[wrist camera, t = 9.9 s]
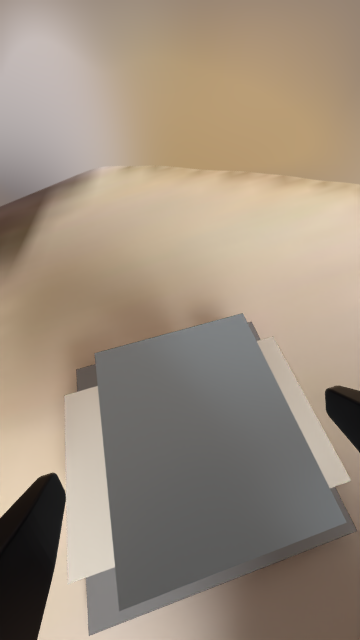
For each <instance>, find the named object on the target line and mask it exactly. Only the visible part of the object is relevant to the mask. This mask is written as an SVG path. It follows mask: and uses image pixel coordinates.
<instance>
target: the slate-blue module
mask: <svg viewBox="0 0 360 640" xmlns="http://www.w3.org/2000/svg"><path fill="white" fill-rule="evenodd" d="M95 363H96V373H97V384H98V394H99V404H100V415H101V425H102V436H103V446H104V457H105V467H106V478H107V488H108V499H109V509H110V520H111V530H112V541H113V551H114V561H115V572H116V582H117V593H118V603H119V611H121V610H124V609H127V608H129V607H132V606H134V605H137V604H139V603H142V602H145V601H147V600H150V599H152V598H155V597H157V596H160V595H162V594H165V593H168V592H170V591H173V590H175V589H178V588H180V587H183V586H185V585H188V584H191V583H193V582H196V581H198V580H201V579H203V578H206V577H209V576H211V575H214V574H216V573H219V572H221V571H224V570H226V569H229V568H232V567H234V566H237V565H239V564H242V563H244V562H247V561H249V560H252V559H255V558H257V557H260V556H262V555H265V554H267V553H270V552H273V551H275V550H278V549H280V548H283V547H285V546H288V545H290V544H293V543H296V542H298V541H301V540H303V539H306V538H308V537H311V536H314V535H316V534H319V533H321V532H324V531H326V530H329V529H331V528H334V527H337V526H339V525H342V524H344V523H347V522H346V520H345V518H344V516H343V514H342V512H341V510H340V508H339V506H338V504H337V502H336V500H335V498H334V496H333V494H332V492H331V490H330V488H329V486H328V484H327V482H326V480H325V478H324V476H323V474H322V471H321V469H320V467H319V465H318V463H317V461H316V459H315V457H314V455H313V453H312V451H311V449H310V447H309V445H308V443H307V441H306V439H305V437H304V435H303V433H302V431H301V429H300V427H299V425H298V423H297V421H296V419H295V417H294V415H293V413H292V411H291V409H290V407H289V405H288V403H287V401H286V399H285V397H284V395H283V393H282V391H281V389H280V387H279V385H278V383H277V381H276V379H275V377H274V375H273V373H272V371H271V369H270V367H269V365H268V363H267V361H266V359H265V357H264V355H263V353H262V351H261V349H260V347H259V345H258V343H257V341H256V339H255V337H254V335H253V333H252V331H251V329H250V327H249V325H248V323H247V321H246V319H245V317H244V315H243V313H242V314H238V315H234V316H231V317H227V318H223V319H220V320H216V321H212V322H209V323H205V324H201V325H197V326H194V327H190V328H186V329H183V330H179V331H175V332H172V333H168V334H164V335H161V336H157V337H153V338H149V339H146V340H142V341H138V342H135V343H131V344H127V345H124V346H120V347H116V348H113V349H109V350H105V351H101V352H98V353H95Z"/></svg>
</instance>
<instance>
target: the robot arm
mask: <svg viewBox="0 0 360 640" xmlns="http://www.w3.org/2000/svg"><path fill="white" fill-rule="evenodd" d="M325 401H326V411H327V413H328V415H329V417H330V418H331V419H332V420H333V421H334V423H335V424H336V425H337V426H338V427H339V428H340V430H341V431H342V432H343V433H344V434H345V436H346V437H347V438H348V439H349V440H350V441H351V443H352V444H353V445H354V446H355V447H356V448H357V450H358V451H359V452H360V391H358V390H354V389H350V388H346V387H342V386H334V387H331V388H328V389H326V391H325ZM65 502H66V494H65V490H64V488H63V486H62V484H61V482H60V480H59V478H58V476H57V474H55V473H50V474H46V475H43V476H41V477H39V478H38V479H37V480H36V481H35V482H34V483H33V484H32V485H31V486H30V487H29V488H28V489H27V490H26V491H25V493H24V494H23V495H22V496H21V497H20V498H19V499H18V500H17V501H16V502H15V503H14V504H13V505H12V506H11V507H10V508H9V509H8V511H7V512H6V513H5V514H4V515H3V516H2V517H1V518H0V640H37V638H38V634H39V630H40V626H41V622H42V618H43V614H44V609H45V605H46V601H47V597H48V593H49V589H50V585H51V581H52V577H53V572H54V568H55V562H56V557H57V551H58V545H59V539H60V533H61V526H62V520H63V514H64V508H65Z"/></svg>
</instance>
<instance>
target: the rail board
mask: <svg viewBox="0 0 360 640" xmlns="http://www.w3.org/2000/svg"><path fill="white" fill-rule="evenodd" d="M248 325H249V327H250V329H251V331H252V333H253V335H254V337H255V339H256V341H257V343H258V345H259V347H260V349H261V351H262V353H263V355H264V357H265V359H266V361H267V363H268V365H269V367H270V369H271V371H272V373H273V375H274V377H275V379H276V381H277V383H278V385H279V387H280V389H281V391H282V393H283V395H284V397H285V399H286V401H287V403H288V405H289V407H290V409H291V411H292V413H293V415H294V417H295V419H296V421H297V423H298V425H299V427H300V429H301V431H302V433H303V435H304V437H305V439H306V441H307V443H308V445H309V447H310V449H311V451H312V453H313V455H314V457H315V459H316V461H317V463H318V465H319V467H320V469H321V471H322V474H323V476H324V478H325V480H326V482H327V484H328V486H329V488H330V490H331V492H332V494H333V496H334V498H335V500H336V502H337V504H338V506H339V508H340V510H341V512H342V514H343V516H344V518H345V520H346V522H347V523H344V524H342V525H339V526H337V527H334V528H331V529H329V530H326V531H324V532H321V533H319V534H316V535H314V536H311V537H308V538H306V539H303V540H301V541H298V542H296V543H293V544H290V545H288V546H285V547H283V548H280V549H278V550H275V551H273V552H270V553H267V554H265V555H262V556H260V557H257V558H255V559H252V560H249V561H247V562H244V563H242V564H239V565H237V566H234V567H232V568H229V569H226V570H224V571H221V572H219V573H216V574H214V575H211V576H209V577H206V578H203V579H201V580H198V581H196V582H193V583H191V584H188V585H185V586H183V587H180V588H178V589H175V590H173V591H170V592H168V593H165V594H162V595H160V596H157V597H155V598H152V599H150V600H147V601H145V602H142V603H139V604H137V605H134V606H132V607H129V608H127V609H124V610H121V611H119V603H118V593H117V582H116V572H115V561H114V551H113V541H112V530H111V520H110V509H109V499H108V488H107V478H106V467H105V457H104V446H103V436H102V425H101V415H100V404H99V394H98V384H97V373H96V364H95V365H91V366H87V367H84V368H80V369H76V372H77V392H75V393H71V394H68V395H64V402H65V458H66V515H67V571H68V584H70V583H73V582H76V581H78V580H81V579H84V578H86V586H87V608H88V629H89V636H90V635H93V634H95V633H98V632H100V631H103V630H105V629H108V628H110V627H113V626H116V625H118V624H121V623H123V622H126V621H128V620H131V619H133V618H136V617H139V616H141V615H144V614H146V613H149V612H151V611H154V610H156V609H159V608H162V607H164V606H167V605H169V604H172V603H174V602H177V601H179V600H182V599H185V598H187V597H190V596H192V595H195V594H197V593H200V592H202V591H205V590H208V589H210V588H213V587H215V586H218V585H220V584H223V583H225V582H228V581H231V580H233V579H236V578H238V577H241V576H243V575H246V574H248V573H251V572H254V571H256V570H259V569H261V568H264V567H266V566H269V565H271V564H274V563H277V562H279V561H282V560H284V559H287V558H289V557H292V556H294V555H297V554H300V553H302V552H305V551H307V550H310V549H312V548H315V547H317V546H320V545H323V544H325V543H328V542H330V541H333V540H335V539H338V538H340V537H343V536H346V535H348V534H351V533H353V532H356V531H357V529H356V527H355V525H354V523H353V522H352V520H351V518H350V516H349V514H348V512H347V510H346V508H345V506H344V504H343V502H342V500H341V498H340V496H339V494H338V492H337V490H336V488H335V487H336V486H338V485H341V484H344V483H347V482H349V481H351V479H350V477H349V475H348V473H347V471H346V470H345V468H344V466H343V464H342V462H341V460H340V459H339V457H338V455H337V453H336V451H335V449H334V447H333V446H332V444H331V442H330V440H329V438H328V436H327V435H326V433H325V431H324V429H323V427H322V425H321V424H320V422H319V420H318V418H317V416H316V414H315V412H314V411H313V409H312V407H311V405H310V403H309V401H308V400H307V398H306V396H305V394H304V392H303V390H302V388H301V387H300V385H299V383H298V381H297V379H296V377H295V376H294V374H293V372H292V370H291V368H290V366H289V364H288V363H287V361H286V359H285V357H284V355H283V353H282V352H281V350H280V348H279V346H278V344H277V342H276V340H275V339H274V337H269V338H266V339H262V340H260V338H259V336H258V334H257V332H256V330H255V328H254V326H253V324H252V322H249V323H248Z"/></svg>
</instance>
